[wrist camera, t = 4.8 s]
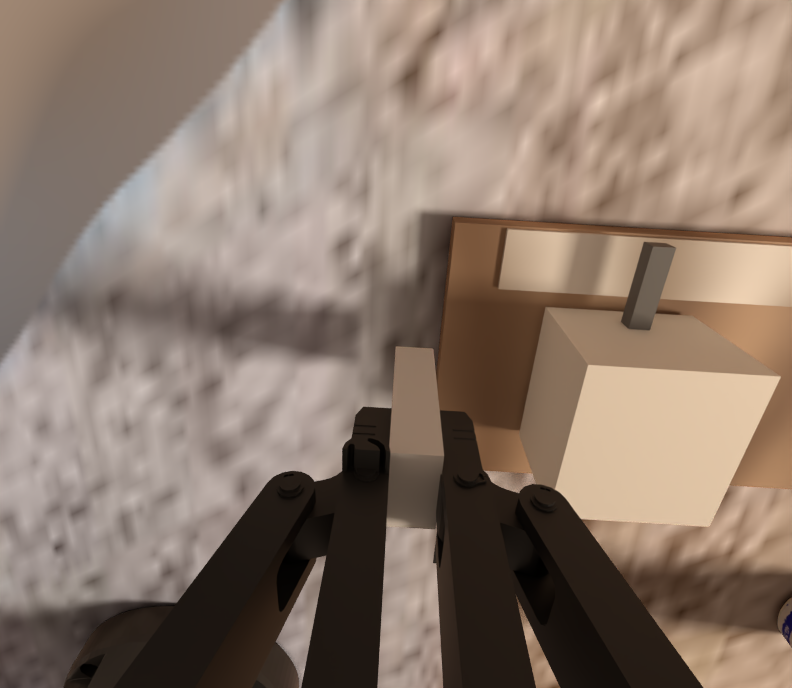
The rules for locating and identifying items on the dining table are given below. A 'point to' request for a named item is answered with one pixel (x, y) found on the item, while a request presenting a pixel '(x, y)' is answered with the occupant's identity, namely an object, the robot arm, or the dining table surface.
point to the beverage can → (786, 621)
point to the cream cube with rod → (640, 407)
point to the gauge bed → (605, 290)
